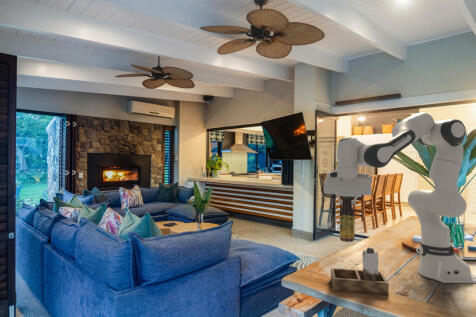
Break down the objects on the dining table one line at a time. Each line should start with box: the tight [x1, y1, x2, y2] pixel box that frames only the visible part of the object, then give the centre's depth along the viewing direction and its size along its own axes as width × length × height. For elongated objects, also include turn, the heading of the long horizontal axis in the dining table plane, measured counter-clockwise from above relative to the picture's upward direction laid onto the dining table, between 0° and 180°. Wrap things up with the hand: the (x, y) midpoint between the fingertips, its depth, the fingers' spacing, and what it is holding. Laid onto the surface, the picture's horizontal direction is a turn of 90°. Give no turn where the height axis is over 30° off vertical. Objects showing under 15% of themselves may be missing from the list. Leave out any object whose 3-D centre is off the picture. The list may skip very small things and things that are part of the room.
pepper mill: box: [362, 246, 379, 281], centre depth 124 cm, size 6×6×16 cm
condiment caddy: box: [330, 267, 390, 296], centre depth 125 cm, size 21×12×5 cm, turn 77°
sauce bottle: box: [339, 195, 356, 243], centre depth 132 cm, size 7×6×20 cm
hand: (346, 204), depth 132 cm, fingers closed on sauce bottle, 4 cm apart
